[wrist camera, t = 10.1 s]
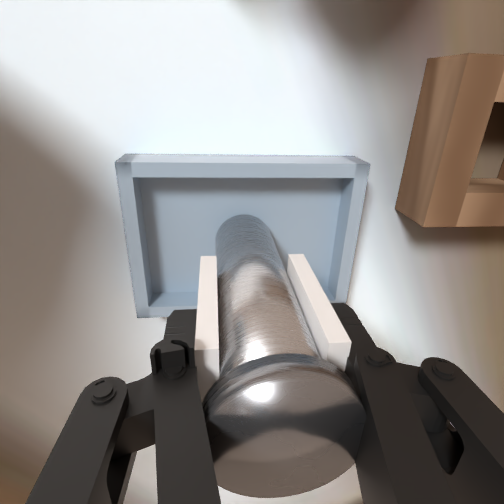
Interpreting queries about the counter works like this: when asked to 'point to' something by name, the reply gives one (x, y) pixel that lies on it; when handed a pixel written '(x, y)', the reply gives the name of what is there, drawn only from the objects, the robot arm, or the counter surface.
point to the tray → (231, 204)
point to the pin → (272, 379)
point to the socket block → (453, 145)
